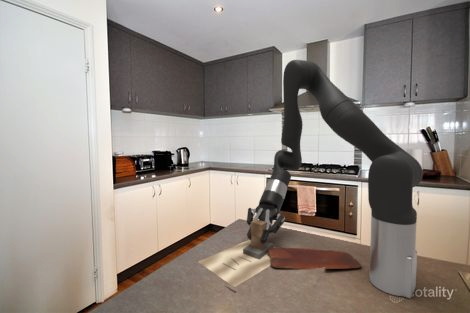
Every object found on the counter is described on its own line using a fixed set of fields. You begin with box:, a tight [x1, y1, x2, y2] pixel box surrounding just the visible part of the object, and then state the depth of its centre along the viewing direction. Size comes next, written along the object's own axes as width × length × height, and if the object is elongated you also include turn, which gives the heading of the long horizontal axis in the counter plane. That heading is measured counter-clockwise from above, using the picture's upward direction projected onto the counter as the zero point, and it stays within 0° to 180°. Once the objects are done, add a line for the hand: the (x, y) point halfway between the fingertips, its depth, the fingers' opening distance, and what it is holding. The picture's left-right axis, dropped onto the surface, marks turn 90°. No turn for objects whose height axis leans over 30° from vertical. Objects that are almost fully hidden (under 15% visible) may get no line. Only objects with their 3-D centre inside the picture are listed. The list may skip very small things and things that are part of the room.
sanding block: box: [243, 219, 275, 259], centre depth 73 cm, size 6×9×10 cm, turn 143°
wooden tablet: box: [267, 247, 363, 270], centre depth 67 cm, size 27×10×2 cm, turn 93°
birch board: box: [198, 239, 278, 294], centre depth 69 cm, size 16×24×2 cm, turn 132°
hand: (255, 240), depth 71 cm, fingers closed on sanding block, 4 cm apart
